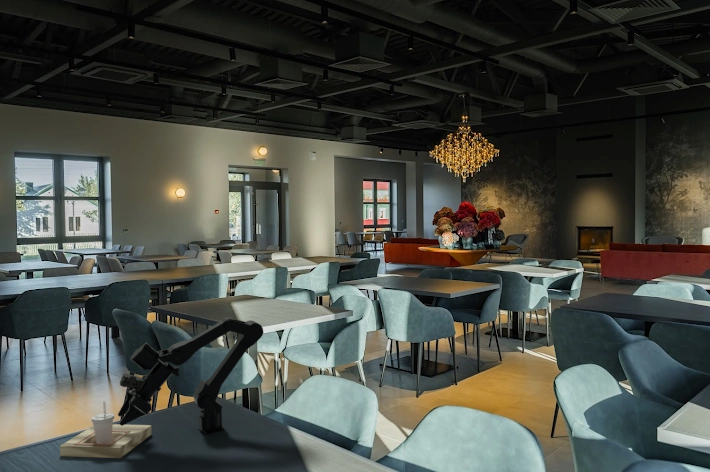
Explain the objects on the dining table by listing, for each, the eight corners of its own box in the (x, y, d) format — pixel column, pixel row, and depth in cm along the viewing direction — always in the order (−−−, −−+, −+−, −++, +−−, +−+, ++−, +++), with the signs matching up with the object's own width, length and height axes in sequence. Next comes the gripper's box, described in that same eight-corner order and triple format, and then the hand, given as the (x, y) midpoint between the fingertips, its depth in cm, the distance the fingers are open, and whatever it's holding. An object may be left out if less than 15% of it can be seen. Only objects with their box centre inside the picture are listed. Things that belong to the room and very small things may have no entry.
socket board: (96, 432, 192) (96, 423, 192) (151, 434, 189) (151, 424, 189) (60, 456, 173) (59, 445, 173) (120, 458, 170) (120, 447, 170)
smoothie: (115, 449, 177) (113, 403, 176) (92, 453, 175) (90, 406, 174) (115, 442, 183) (113, 397, 182) (93, 445, 181) (91, 400, 180)
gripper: (133, 357, 190) (97, 396, 186) (137, 370, 174) (99, 414, 169) (159, 378, 194) (125, 417, 190) (166, 392, 177) (129, 435, 173)
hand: (119, 420), depth 180 cm, fingers open, 9 cm apart
